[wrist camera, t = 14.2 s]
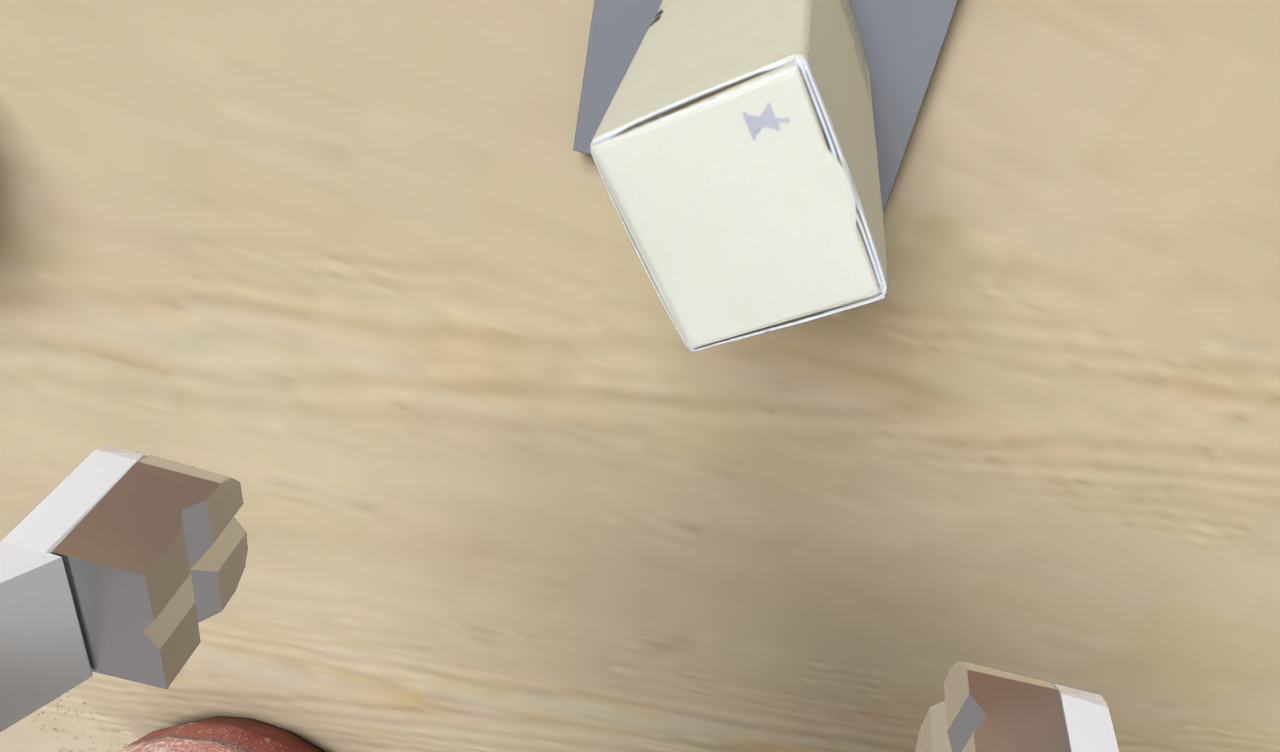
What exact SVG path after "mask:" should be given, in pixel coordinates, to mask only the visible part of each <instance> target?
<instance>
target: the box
mask: <svg viewBox="0 0 1280 752" xmlns="http://www.w3.org/2000/svg"><path fill="white" fill-rule="evenodd" d="M590 150H591V154H592V157H593V160H594V162H595V164H596V167H597V169H598V171H599V173H600V176H601V178H602V180H603V182H604V185H605V187H606V189H607V191H608V193H609V196H610V198H611V200H612V202H613V204H614V206H615V208H616V210H617V212H618V214H619V216H620V218H621V221H622V223H623V225H624V227H625V229H626V231H627V233H628V235H629V238H630V240H631V242H632V244H633V246H634V248H635V250H636V253H637V255H638V257H639V258H640V260H641V262H642V264H643V266H644V268H645V270H646V272H647V274H648V276H649V278H650V280H651V282H652V284H653V286H654V288H655V290H656V292H657V294H658V296H659V298H660V300H661V302H662V304H663V306H664V308H665V310H666V311H667V313H668V315H669V317H670V319H671V321H672V322H673V324H674V326H675V328H676V329H677V331H678V333H679V335H680V337H681V339H682V341H683V343H684V344H685V346H686V347H687V348H688V349H689V350H691V351H700V350H703V349H707V348H710V347H714V346H717V345H721V344H724V343H728V342H732V341H736V340H740V339H743V338H748V337H752V336H756V335H761V334H764V333H767V332H769V331H773V330H778V329H782V328H786V327H790V326H793V325H797V324H801V323H805V322H808V321H811V320H815V319H819V318H822V317H826V316H829V315H832V314H835V313H839V312H842V311H846V310H849V309H853V308H856V307H859V306H863V305H866V304H869V303H873V302H876V301H880V300H882V299H883V298H885V297H886V294H887V291H888V273H887V257H886V244H885V233H884V222H883V211H882V201H881V191H880V180H879V170H878V159H877V149H876V139H875V129H874V119H873V108H872V96H871V85H870V74H869V68H868V64H867V60H866V56H865V53H864V49H863V46H862V42H861V39H860V35H859V32H858V29H857V26H856V22H855V19H854V16H853V13H852V10H851V7H850V4H849V0H663V1H662V3H661V5H660V7H659V9H658V11H657V13H656V15H655V17H654V19H653V21H652V23H651V25H650V28H649V29H648V31H647V32H646V34H645V36H644V38H643V40H642V42H641V44H640V47H639V48H638V50H637V52H636V54H635V56H634V58H633V60H632V62H631V64H630V66H629V68H628V70H627V72H626V74H625V76H624V78H623V80H622V82H621V83H620V85H619V87H618V89H617V91H616V93H615V95H614V97H613V99H612V102H611V104H610V105H609V107H608V109H607V112H606V114H605V115H604V117H603V119H602V121H601V123H600V125H599V127H598V129H597V131H596V133H595V136H594V137H593V139H592V142H591V144H590Z"/></svg>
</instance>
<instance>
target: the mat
mask: <svg viewBox="0 0 1280 752" xmlns="http://www.w3.org/2000/svg"><path fill="white" fill-rule="evenodd" d="M662 1H663V0H594V7H593V14H592V21H591V28H590V35H589V42H588V49H587V56H586V63H585V70H584V77H583V85H582V92H581V99H580V106H579V113H578V120H577V127H576V134H575V141H574V148H573V150H574V151H578V152H583V153H587V154H591V150H590V144H591V142H592V139H593V137H594V136H595V133H596V131H597V129H598V127H599V125H600V123H601V121H602V119H603V117H604V115H605V114H606V112H607V109H608V107H609V105H610V104H611V102H612V99H613V97H614V95H615V93H616V91H617V89H618V87H619V85H620V83H621V82H622V80H623V78H624V76H625V74H626V72H627V70H628V68H629V66H630V64H631V62H632V60H633V58H634V56H635V54H636V52H637V50H638V48H639V47H640V44H641V42H642V40H643V38H644V36H645V34H646V32H647V31H648V29H649V28H650V25H651V23H652V21H653V19H654V17H655V15H656V13H657V11H658V9H659V7H660V5H661V3H662ZM957 1H958V0H849V4H850V7H851V10H852V13H853V16H854V19H855V22H856V26H857V29H858V32H859V35H860V39H861V42H862V46H863V49H864V53H865V56H866V60H867V64H868V68H869V74H870V85H871V96H872V108H873V119H874V129H875V139H876V149H877V159H878V170H879V180H880V191H881V201H882V211H883V213H884V210H885V207H886V204H887V201H888V198H889V195H890V193H891V190H892V187H893V184H894V181H895V178H896V175H897V172H898V170H899V167H900V164H901V161H902V158H903V155H904V152H905V150H906V147H907V144H908V141H909V138H910V135H911V132H912V129H913V127H914V124H915V121H916V118H917V115H918V112H919V109H920V107H921V104H922V101H923V98H924V95H925V92H926V89H927V86H928V84H929V81H930V78H931V75H932V72H933V69H934V66H935V64H936V61H937V58H938V55H939V52H940V49H941V46H942V44H943V41H944V38H945V35H946V32H947V29H948V26H949V23H950V21H951V18H952V15H953V12H954V9H955V6H956V3H957ZM591 155H592V154H591Z"/></svg>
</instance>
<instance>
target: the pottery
mask: <svg viewBox="0 0 1280 752" xmlns="http://www.w3.org/2000/svg"><path fill="white" fill-rule="evenodd" d="M119 752H322V751H321V750H320V749H319V748H317V747H316V746H314V745H312V744H310V743H308V742H307V741H305V740H303V739H301V738H299V737H297V736H296V735H294V734H292V733H290V732H288V731H286V730H283V729H280V728H276V727H273V726H270V725H267V724H264V723H261V722H258V721H255V720H252V719H243V718H231V717H214V718H209V719H205V720H201V721H196V722H192V723H187V724H183V725H178V726H174V727H169V728H165V729H160V730H156V731H153V732H151V733H149V734H148V735H146V736H144V737H142V738H140V739H139V740H137V741H135V742H133V743H132V744H130V745H128V746H126V747H124V748H123V749H121V750H120V751H119Z"/></svg>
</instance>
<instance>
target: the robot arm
mask: <svg viewBox="0 0 1280 752" xmlns="http://www.w3.org/2000/svg"><path fill="white" fill-rule="evenodd" d="M242 505H243V498H242V491H241V485H240V482H239V481H237V480H235V479H233V478H230V477H227V476H223V475H220V474H216V473H212V472H209V471H205V470H202V469H198V468H195V467H191V466H187V465H184V464H180V463H177V462H173V461H170V460H166V459H162V458H159V457H155V456H152V455H146V454H142V453H139V452H135V451H131V450H128V449H124V448H120V447H117V446H113V445H107V446H104V447H102V448H99V449H97V450H95V451H93V452H92V453H91V454H90V455H89V456H88V457H87V458H86V459H85V460H84V461H83V462H82V463H81V464H80V465H79V466H78V467H77V468H76V469H75V470H74V471H73V472H72V473H71V474H69V475H68V476H67V477H66V478H65V479H64V480H63V481H62V482H61V483H60V484H59V485H58V486H57V487H56V488H55V489H54V490H53V491H52V492H51V493H50V494H49V495H48V496H47V497H46V498H45V499H44V500H43V501H42V502H41V503H40V504H39V505H38V506H37V507H36V508H35V509H34V510H33V511H32V512H31V513H30V514H29V515H27V516H26V517H25V518H24V519H23V520H22V521H21V522H20V523H19V524H18V525H17V526H16V527H15V528H14V529H13V530H12V531H11V532H10V533H9V534H8V535H7V536H6V537H5V538H4V539H3V540H2V541H1V540H0V732H1V731H3V730H5V729H6V728H8V727H10V726H11V725H13V724H15V723H16V722H18V721H19V720H21V719H23V718H24V717H26V716H28V715H29V714H31V713H33V712H34V711H36V710H38V709H39V708H41V707H42V706H44V705H46V704H47V703H49V702H51V701H52V700H54V699H56V698H57V697H59V696H61V695H62V694H64V693H65V692H67V691H69V690H70V689H72V688H74V687H75V686H77V685H79V684H80V683H82V682H84V681H85V680H87V679H88V678H90V677H92V675H93V674H92V671H93V672H97V673H101V674H105V675H110V676H114V677H118V678H122V679H126V680H131V681H135V682H139V683H143V684H148V685H152V686H156V687H160V688H165V689H168V687H169V686H170V684H171V683H172V681H173V680H174V679H175V677H176V676H177V674H178V673H179V672H180V670H181V669H182V667H183V666H184V665H185V663H186V662H187V660H188V659H189V657H190V656H191V655H192V653H193V652H194V650H195V649H196V648H197V646H198V645H199V643H200V642H201V641H200V634H199V626H198V623H199V622H201V621H203V620H205V619H207V618H209V617H211V616H213V615H215V614H217V613H219V612H221V611H222V610H223V609H224V607H225V606H226V604H227V603H228V601H229V600H230V598H231V597H232V595H233V594H234V592H235V591H236V588H237V586H238V583H239V581H240V578H241V576H242V573H243V571H244V568H245V564H246V557H247V550H248V545H247V533H246V531H245V530H244V529H243V527H242V526H241V525H240V524H239V522H238V521H237V520H236V519H235V517H234V516H235V514H236V513H237V512H238V510H239V509H240V508H241V506H242ZM944 694H945V700H944V701H942V702H940V703H938V704H935V705H933V706H931V707H930V708H929V710H928V712H927V714H926V716H925V718H924V721H923V723H922V725H921V727H920V731H919V735H918V739H917V744H916V748H915V752H1119V748H1118V744H1117V740H1116V736H1115V732H1114V728H1113V724H1112V720H1111V716H1110V711H1109V707H1108V704H1107V703H1106V701H1105V700H1104V699H1103V697H1102V696H1101V695H1099V694H1095V693H1090V692H1086V691H1082V690H1078V689H1074V688H1070V687H1066V686H1062V685H1058V684H1050V683H1049V682H1047V681H1043V680H1039V679H1035V678H1031V677H1026V676H1022V675H1018V674H1014V673H1010V672H1006V671H1001V670H997V669H993V668H989V667H985V666H981V665H977V664H972V663H968V662H964V661H958V662H957V663H956V664H955V665H953V666H952V667H951V669H950V671H949V673H948V675H947V676H946V678H945V680H944Z"/></svg>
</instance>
